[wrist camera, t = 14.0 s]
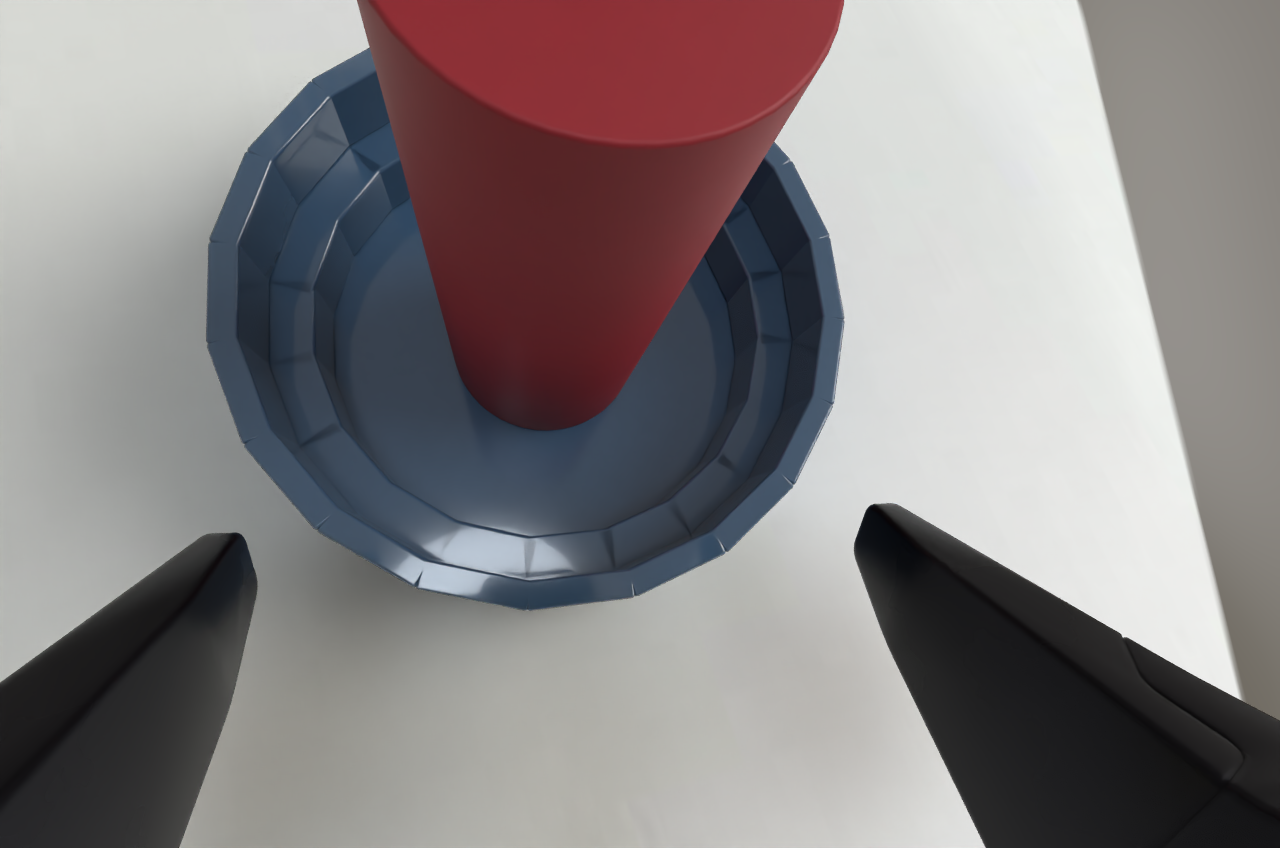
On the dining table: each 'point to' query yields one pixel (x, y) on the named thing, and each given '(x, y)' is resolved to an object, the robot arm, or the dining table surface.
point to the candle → (579, 169)
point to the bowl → (453, 419)
